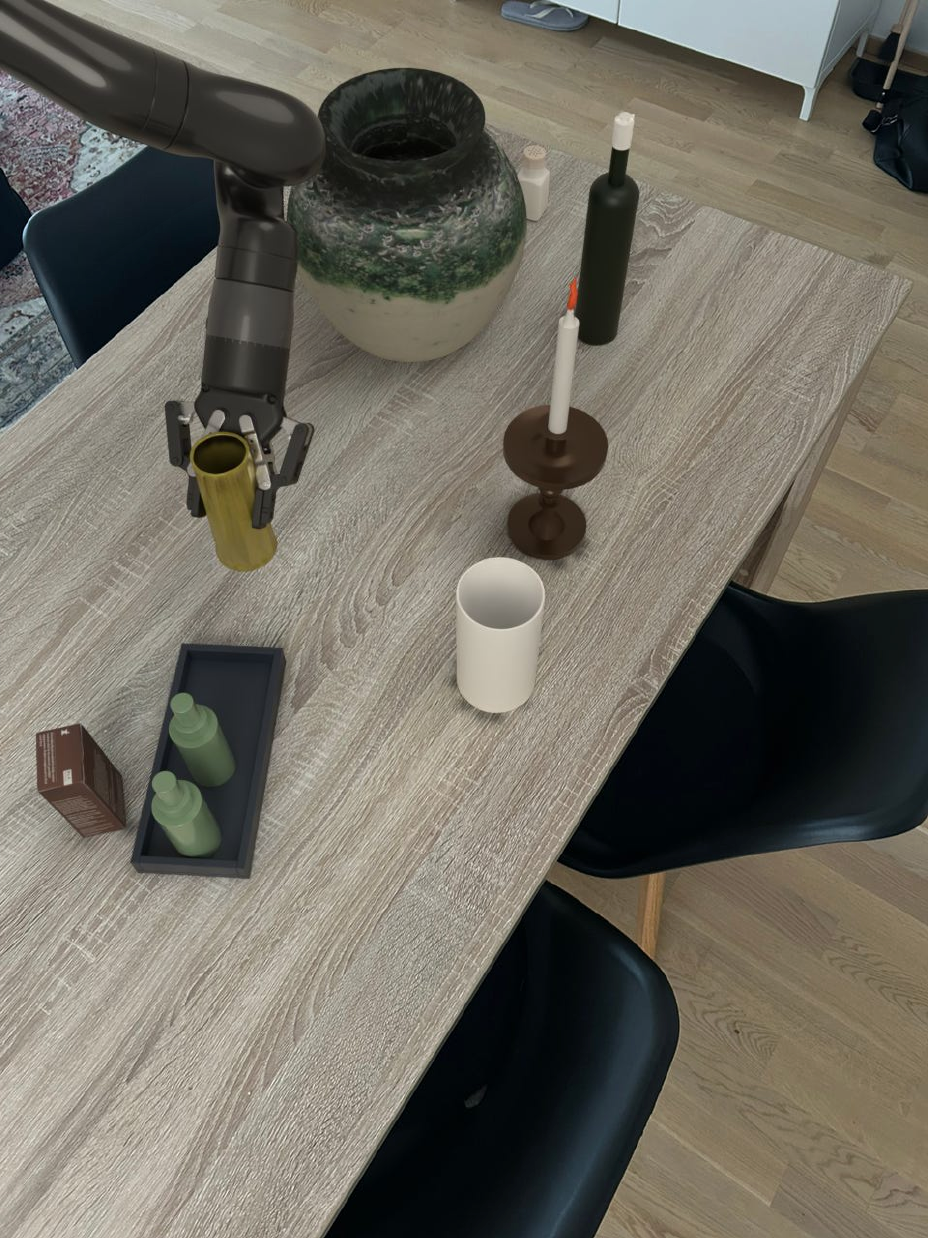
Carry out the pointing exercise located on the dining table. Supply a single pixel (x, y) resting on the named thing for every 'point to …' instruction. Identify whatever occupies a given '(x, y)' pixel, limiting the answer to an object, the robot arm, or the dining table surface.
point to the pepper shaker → (534, 181)
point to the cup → (498, 633)
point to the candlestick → (554, 458)
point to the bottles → (208, 765)
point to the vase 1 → (231, 501)
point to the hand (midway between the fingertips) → (228, 521)
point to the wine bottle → (607, 242)
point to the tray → (247, 713)
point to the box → (79, 780)
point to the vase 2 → (408, 215)
